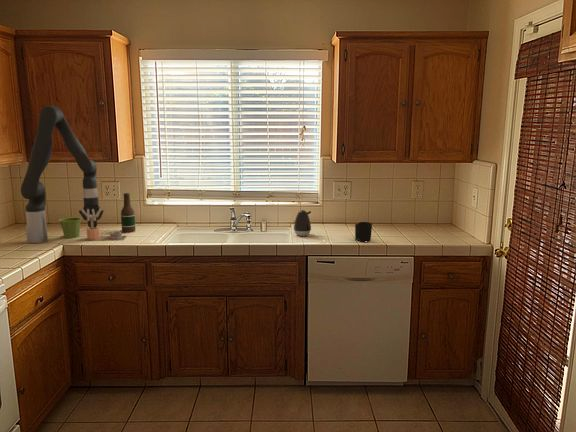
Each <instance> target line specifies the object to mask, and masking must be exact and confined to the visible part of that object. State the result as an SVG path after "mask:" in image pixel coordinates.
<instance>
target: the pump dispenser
mask: <svg viewBox="0 0 576 432" xmlns="http://www.w3.org/2000/svg"><path fill="white" fill-rule="evenodd" d="M311 213H312V211H311V210H309V211H306V210H303V209H302V210H301V209H300V210H299V211H298V212H297V215H296V216H295V219H294V224H293V230H294V233H295V235H296V236H298V235H299V236H298V237H307V236H309V234H310V232H311V230H312V225H311V220H310V217H309V214H311Z"/></svg>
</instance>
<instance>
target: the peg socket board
mask: <svg viewBox="0 0 576 432" xmlns="http://www.w3.org/2000/svg"><path fill="white" fill-rule="evenodd" d="M122 233H123V232H122V231H113V232H110V235H102V236H101V235H100V239H97V240H88V239H87V238H85V239H83V242H107V241H110V242H111V241H124V240H125V239H126V238H127V237H128V235H123V234H122Z"/></svg>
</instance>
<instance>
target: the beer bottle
mask: <svg viewBox="0 0 576 432" xmlns="http://www.w3.org/2000/svg"><path fill="white" fill-rule="evenodd" d="M122 196H123V207H122V209H121V210H120V222H121V233H124V234H126V233H127V234H130V233H135V232H136V217H135V216H136V215H135V211H134V209H133V207H132V206H131V205H132V204H131V198H130V197H131V193H129V192H126V193H125V192H124V193H122Z"/></svg>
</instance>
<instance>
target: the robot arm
mask: <svg viewBox="0 0 576 432" xmlns="http://www.w3.org/2000/svg"><path fill="white" fill-rule="evenodd" d="M55 128H56V129H57V131H58V132H59V134H60V136H61V138H62V140H63V143H64V146H65V147H66V149H67V150H68V152H69V153H70V154H71V156H72V157H73V159H74V160H75V162H76V164H77V166H78V167H79V169H80V170H81V171H82V172H83V179H82V197H83V198H82V199H83V201H82V202H83V207H82V209H80V210H79V211H78V213H79V214H80V216H81V218H82V219H83V220H84V221H87V228H91V223H90V217H94V227H98V220H99V221H100V220H101V218H102V217H103V214H104V213H105V209H104V208H100V205H99V193H98V183H97V182H98V181H97V169H98V168H97V163H96V162H95V161H94V160H93V159H91V158H90V157H89V156H88V154H87V151H86V149H85V148H84V146H83V145H82V144H81V142H80V140H79V139H78V138H77V136H76V135H75V133H74V131H73V130H72V128H71V127H70V124H69V123H68V121H67V119H66V117H65V115H64V113H63V112H62V109H61V108H59V107H58V106H56V105H45V106H43V107H42V108H41V110H40V111H39V116H38V123H37V131H36V134H35V137H34V140H33V141H34V142H33V145H32V148H31V152H30V157H29V161H28V166H27V168H26V172H25V176H24V178H23V180H22V183H21V186H20V194H21V196H22V198H24V199H25V200H28V203H27V204H26V205H25V216H26V225H25V232H26V242H27V243H29V244H41V243H45V242H48V240H49V239H48V229H47V216H46V203H47V197H46V196H47V195H46V188H45V185H44V183H43V182H42V181H40V179H41V176H42V174H43V173H44V171H45V170H46V168H47V166H48V165H49V163H50V160H51V157H52V153H53V132H54V129H55ZM98 212H99V214H98ZM85 213H86V214H85Z"/></svg>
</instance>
